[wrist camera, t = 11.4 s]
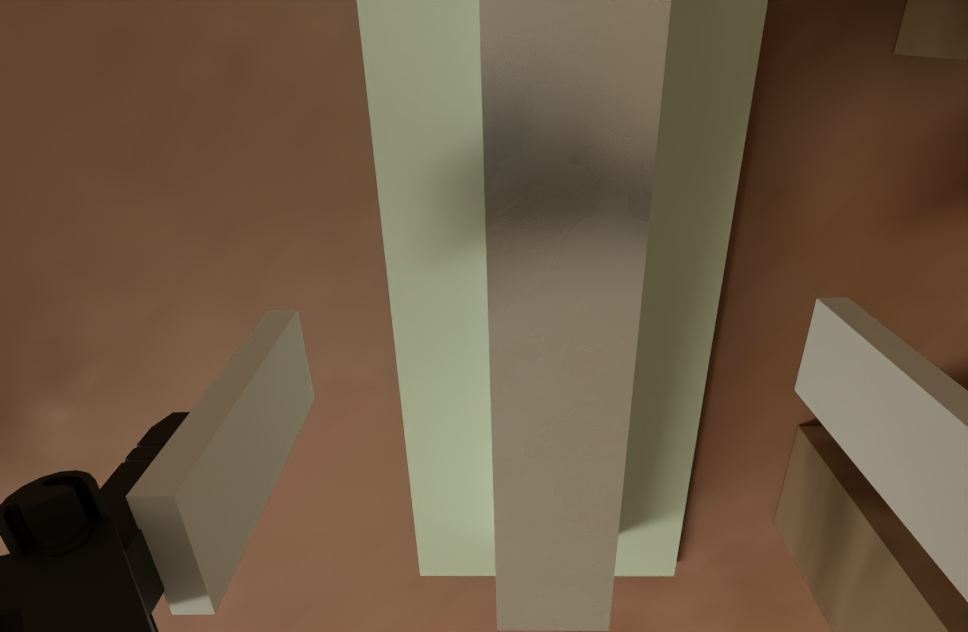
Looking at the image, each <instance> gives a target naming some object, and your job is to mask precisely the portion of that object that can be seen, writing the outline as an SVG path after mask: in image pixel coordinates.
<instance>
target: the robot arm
mask: <svg viewBox="0 0 968 632" xmlns="http://www.w3.org/2000/svg"><path fill="white" fill-rule="evenodd" d="M794 390H795V392H796V393H797V394H798V395H799V396H800V398H801V399H802V400H803V401H804V403H805V404H806V405H807V406H808V407H809V409H810V410H811V411H812V412H813V414H814V415H815V416H816V417H817V418H818V420H819V421H820V422H821V423H822V425H823V426H824V427H825V428H826V429H827V431H828V432H829V433H830V434H831V436H832V437H833V438H834V439H835V440H836V442H837V443H838V444H839V445H840V447H841V448H842V449H843V450H844V451H845V453H846V454H847V455H848V456H849V458H850V459H851V460H852V461H853V462H854V464H855V465H856V466H857V467H858V469H859V470H860V471H861V472H862V473H863V475H864V476H865V477H866V478H867V480H868V481H869V482H870V483H871V484H872V486H873V487H874V488H875V489H876V491H877V492H878V493H879V494H880V495H881V497H882V498H883V499H884V500H885V502H886V503H887V504H888V505H889V506H890V508H891V509H892V510H893V511H894V513H895V514H896V515H897V516H898V517H899V519H900V520H901V521H902V522H903V524H904V525H905V526H906V527H907V529H908V530H909V531H910V532H911V533H912V535H913V536H914V537H915V538H916V540H917V541H918V542H919V543H920V544H921V546H922V547H923V548H924V549H925V551H926V552H927V553H928V554H929V555H930V557H931V558H932V559H933V560H934V562H935V563H936V564H937V565H938V566H939V568H940V569H941V570H942V571H943V573H944V574H945V575H946V576H947V577H948V579H949V580H950V581H951V582H952V584H953V585H954V586H955V587H956V588H957V590H958V591H959V592H960V593H961V595H962V596H963V597H964V598H965V599H966V601H967V602H968V391H967V390H966V389H965V388H963V387H962V386H961V385H959V384H958V383H957V382H956V381H954V380H953V379H952V378H950V377H949V376H948V375H947V374H945V373H944V372H943V371H941V370H940V369H939V368H938V367H936V366H935V365H934V364H933V363H931V362H930V361H929V360H927V359H926V358H925V357H924V356H922V355H921V354H920V353H918V352H917V351H916V350H915V349H913V348H912V347H911V346H909V345H908V344H907V343H906V342H904V341H903V340H902V339H900V338H899V337H898V336H897V335H895V334H894V333H893V332H892V331H890V330H889V329H888V328H886V327H885V326H884V325H883V324H881V323H880V322H879V321H877V320H876V319H875V318H874V317H872V316H871V315H870V314H868V313H867V312H866V311H865V310H863V309H862V308H861V307H859V306H858V305H857V304H856V303H854V302H853V301H852V300H851V299H849V298H848V297H842V298H817V300H816V304H815V308H814V312H813V316H812V320H811V324H810V328H809V332H808V336H807V340H806V345H805V349H804V353H803V357H802V361H801V365H800V369H799V373H798V377H797V381H796V385H795V389H794ZM314 399H315V398H314V392H313V387H312V382H311V377H310V371H309V366H308V361H307V355H306V350H305V345H304V339H303V334H302V329H301V323H300V318H299V313H298V309H292V310H268V311H267V312H266V314H265V315H264V316H263V317H262V319H261V320H260V321H259V323H258V324H257V325H256V327H255V328H254V329H253V331H252V332H251V333H250V334H249V336H248V337H247V338H246V340H245V341H244V342H243V344H242V345H241V346H240V348H239V349H238V350H237V351H236V353H235V354H234V355H233V357H232V358H231V359H230V361H229V362H228V363H227V365H226V366H225V367H224V369H223V370H222V371H221V372H220V374H219V375H218V376H217V378H216V379H215V380H214V382H213V383H212V384H211V386H210V387H209V388H208V389H207V391H206V392H205V393H204V395H203V396H202V397H201V399H200V400H199V401H198V403H197V404H196V405H195V406H194V408H193V409H192V410H191V412H173V413H172V414H170V415H169V416H167V417H166V418H164V419H163V420H161V421H160V422H159V423H157V424H156V425H154V426H153V427H151V428H150V430H149V431H148V432H147V433H146V434H145V436H144V437H143V438H142V439H141V440H140V442H139V443H138V444H137V448H134V449H133V450H132V451H131V452H130V454H129V455H128V456H127V457H126V458H125V463H121V464H120V466H119V467H118V468H117V469H116V470H115V472H114V473H113V474H112V475H111V476H110V478H109V479H108V480H107V481H106V483H105V484H104V485H103V486H102V487H101V489H99V487H98V484H97V482H96V480H95V479H94V478H93V477H92V476H91V474H90V473H87V472H82V471H78V470H75V471H63V472H58V473H54V474H51V475H47V476H44V477H41V478H39V479H37V480H35V481H33V482H30V483H28V484H26V485H24V486H22V487H21V488H19V489H18V490H17V491H15V492H14V493H13V494H11V495H10V496H8V497H7V498H6V499H5V500H4V501H3V502H2V504H1V505H0V536H1V537H2V539H3V541H4V543H5V545H6V547H7V549H8V550H9V552H10V554H7V555H3V556H0V632H159V631H158V628H157V626H156V623H155V621H154V618H153V616H152V614H151V613H152V611H153V610H154V608H155V606H156V604H157V603H158V601H159V599H160V597H161V596H162V594H163V593H164V595H165V598H166V600H167V603H168V605H169V608H170V610H171V613H172V615H193V614H215V613H216V611H217V609H218V607H219V605H220V603H221V600H222V598H223V596H224V594H225V592H226V590H227V587H228V585H229V583H230V581H231V579H232V577H233V575H234V572H235V570H236V568H237V566H238V564H239V562H240V559H241V557H242V555H243V553H244V551H245V549H246V546H247V544H248V542H249V540H250V538H251V536H252V533H253V531H254V529H255V527H256V525H257V523H258V520H259V518H260V516H261V514H262V512H263V510H264V508H265V505H266V503H267V501H268V499H269V497H270V495H271V492H272V490H273V488H274V486H275V484H276V482H277V479H278V477H279V475H280V473H281V471H282V469H283V466H284V464H285V462H286V460H287V458H288V456H289V453H290V451H291V449H292V447H293V445H294V443H295V441H296V438H297V436H298V434H299V432H300V430H301V428H302V425H303V423H304V421H305V419H306V417H307V415H308V412H309V410H310V408H311V406H312V404H313V402H314Z"/></svg>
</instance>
